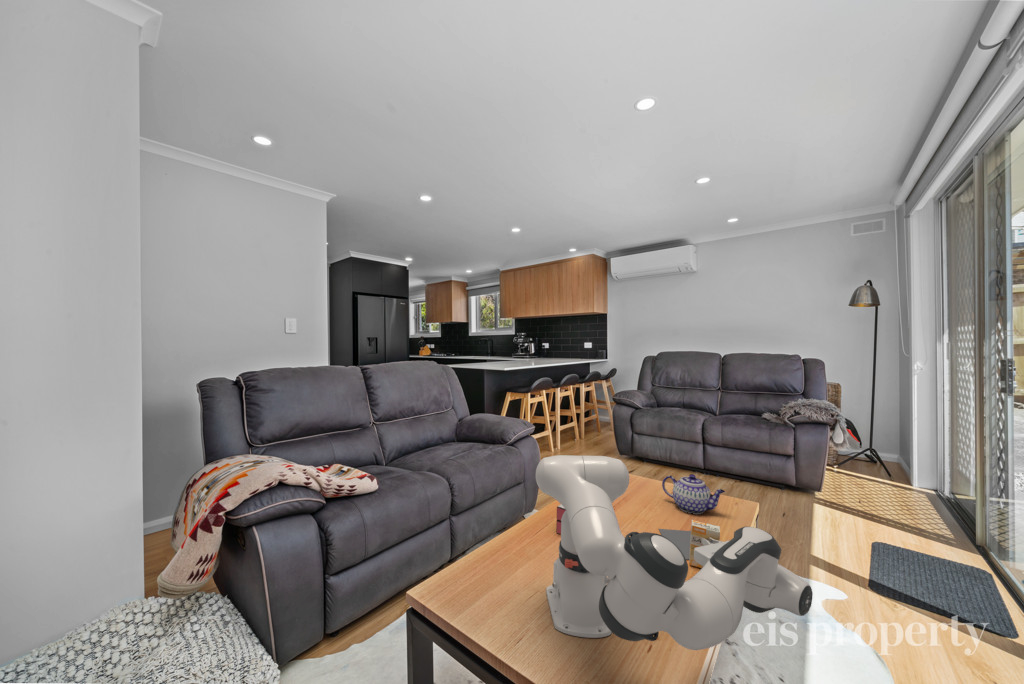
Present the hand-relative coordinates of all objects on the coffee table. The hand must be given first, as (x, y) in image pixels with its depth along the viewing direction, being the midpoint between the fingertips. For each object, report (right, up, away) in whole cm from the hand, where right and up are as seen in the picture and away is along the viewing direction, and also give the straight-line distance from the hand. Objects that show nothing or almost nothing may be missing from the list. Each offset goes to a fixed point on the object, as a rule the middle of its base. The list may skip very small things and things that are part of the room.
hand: (705, 540), depth 119 cm
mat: (+2, -10, +16) cm, 19 cm away
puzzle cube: (-37, -10, +24) cm, 45 cm away
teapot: (+17, -11, +46) cm, 50 cm away
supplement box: (+1, -10, +3) cm, 11 cm away
